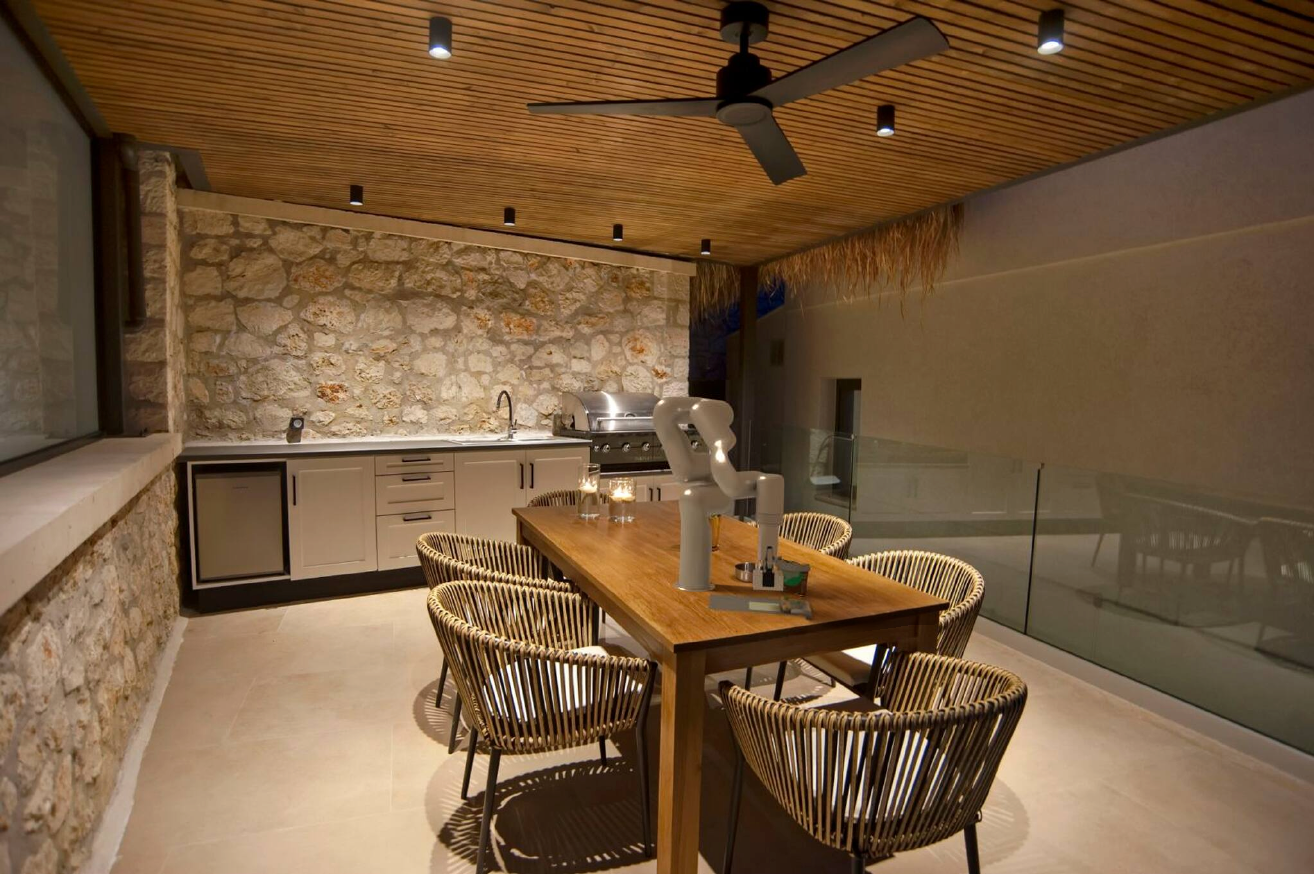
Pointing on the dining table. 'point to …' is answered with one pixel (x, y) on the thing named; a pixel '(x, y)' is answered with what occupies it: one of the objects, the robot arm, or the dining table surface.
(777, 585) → the tan studded block
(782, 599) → the fixed leaf
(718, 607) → the board
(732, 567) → the dining table surface
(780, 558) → the food container
